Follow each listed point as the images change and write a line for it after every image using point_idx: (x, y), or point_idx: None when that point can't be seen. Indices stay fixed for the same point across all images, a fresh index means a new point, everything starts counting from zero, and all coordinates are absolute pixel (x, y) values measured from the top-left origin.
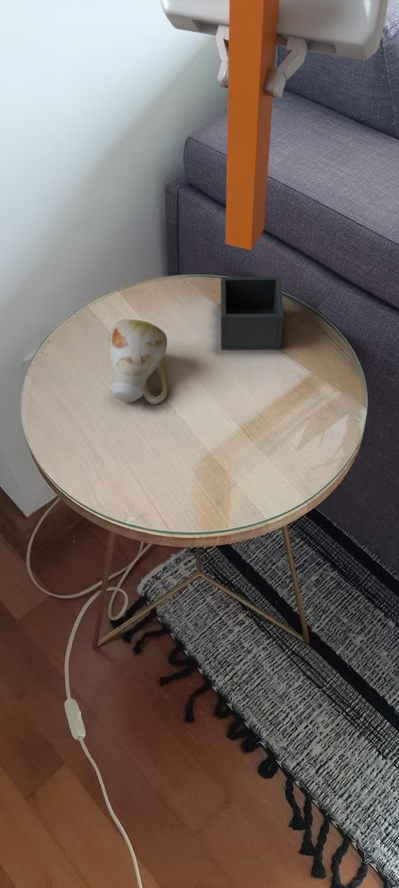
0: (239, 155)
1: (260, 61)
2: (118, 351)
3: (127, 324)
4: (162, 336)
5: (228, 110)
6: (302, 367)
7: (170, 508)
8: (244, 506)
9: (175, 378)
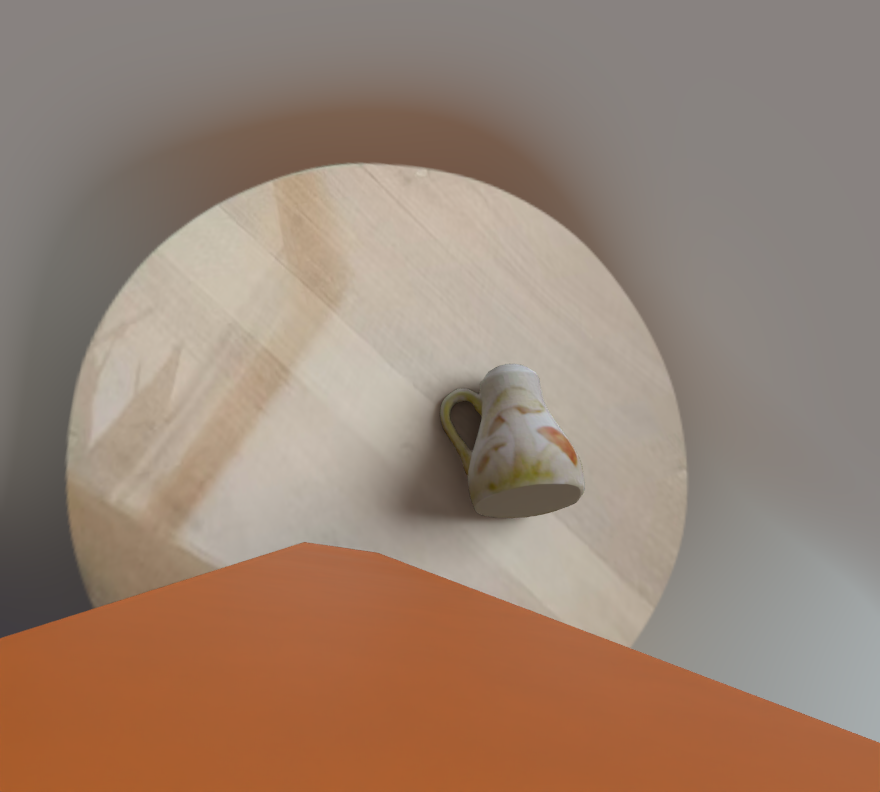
0: (356, 556)
1: (247, 560)
2: (550, 423)
3: (555, 467)
4: (481, 483)
5: (428, 572)
6: (193, 551)
7: (368, 199)
8: (254, 220)
9: (436, 463)
